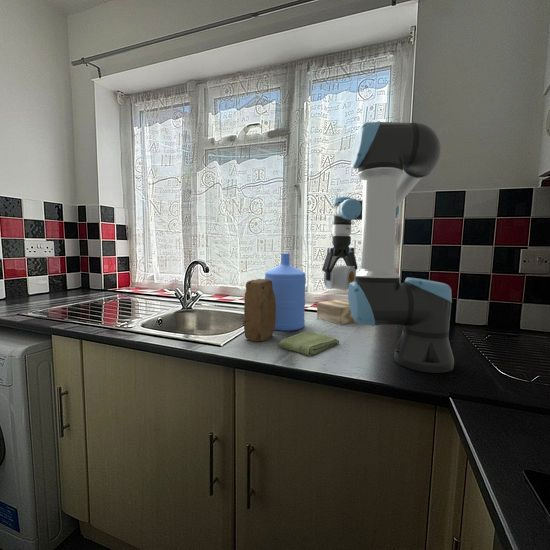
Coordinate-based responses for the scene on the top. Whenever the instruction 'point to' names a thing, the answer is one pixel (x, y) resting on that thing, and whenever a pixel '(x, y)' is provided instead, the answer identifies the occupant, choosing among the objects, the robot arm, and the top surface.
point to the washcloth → (308, 342)
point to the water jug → (288, 295)
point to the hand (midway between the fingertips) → (339, 287)
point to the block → (259, 310)
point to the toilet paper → (342, 277)
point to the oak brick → (335, 311)
